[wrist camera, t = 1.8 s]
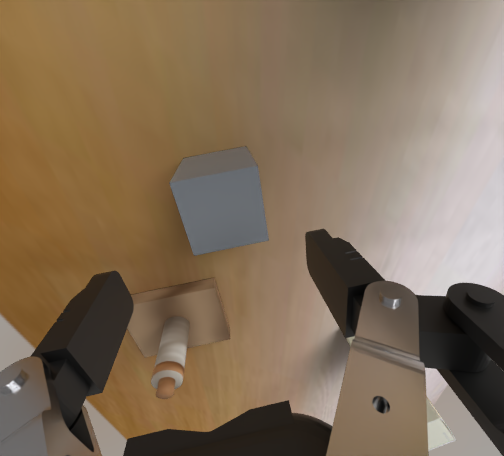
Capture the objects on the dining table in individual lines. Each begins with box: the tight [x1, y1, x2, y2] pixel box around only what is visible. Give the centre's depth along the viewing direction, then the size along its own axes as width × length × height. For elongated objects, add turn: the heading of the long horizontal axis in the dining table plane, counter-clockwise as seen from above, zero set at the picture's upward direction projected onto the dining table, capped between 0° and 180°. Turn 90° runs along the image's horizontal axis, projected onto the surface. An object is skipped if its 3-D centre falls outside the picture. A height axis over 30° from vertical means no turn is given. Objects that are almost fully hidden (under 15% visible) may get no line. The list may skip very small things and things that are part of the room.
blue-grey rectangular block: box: [170, 146, 269, 256], centre depth 18 cm, size 5×5×7 cm
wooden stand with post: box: [127, 278, 230, 399], centre depth 24 cm, size 10×8×9 cm
